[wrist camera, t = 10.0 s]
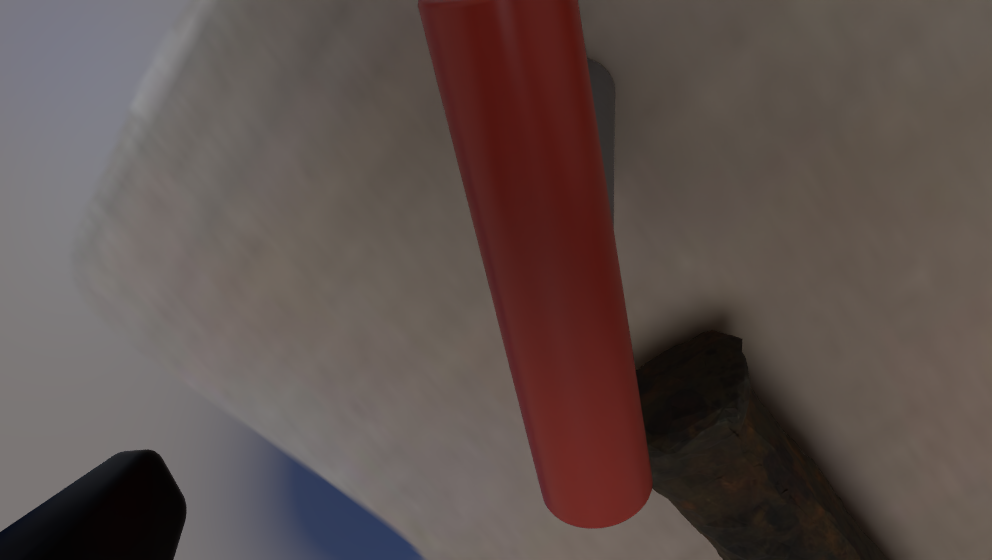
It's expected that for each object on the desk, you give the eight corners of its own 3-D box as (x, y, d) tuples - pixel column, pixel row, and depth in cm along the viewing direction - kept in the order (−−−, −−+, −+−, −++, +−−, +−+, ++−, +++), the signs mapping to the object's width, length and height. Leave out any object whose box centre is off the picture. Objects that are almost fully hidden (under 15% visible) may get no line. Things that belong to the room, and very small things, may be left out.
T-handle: (591, -111, 16) (567, -20, 8) (640, 243, 19) (655, 528, 12) (502, -92, 16) (399, 13, 8) (568, 252, 20) (537, 533, 12)
